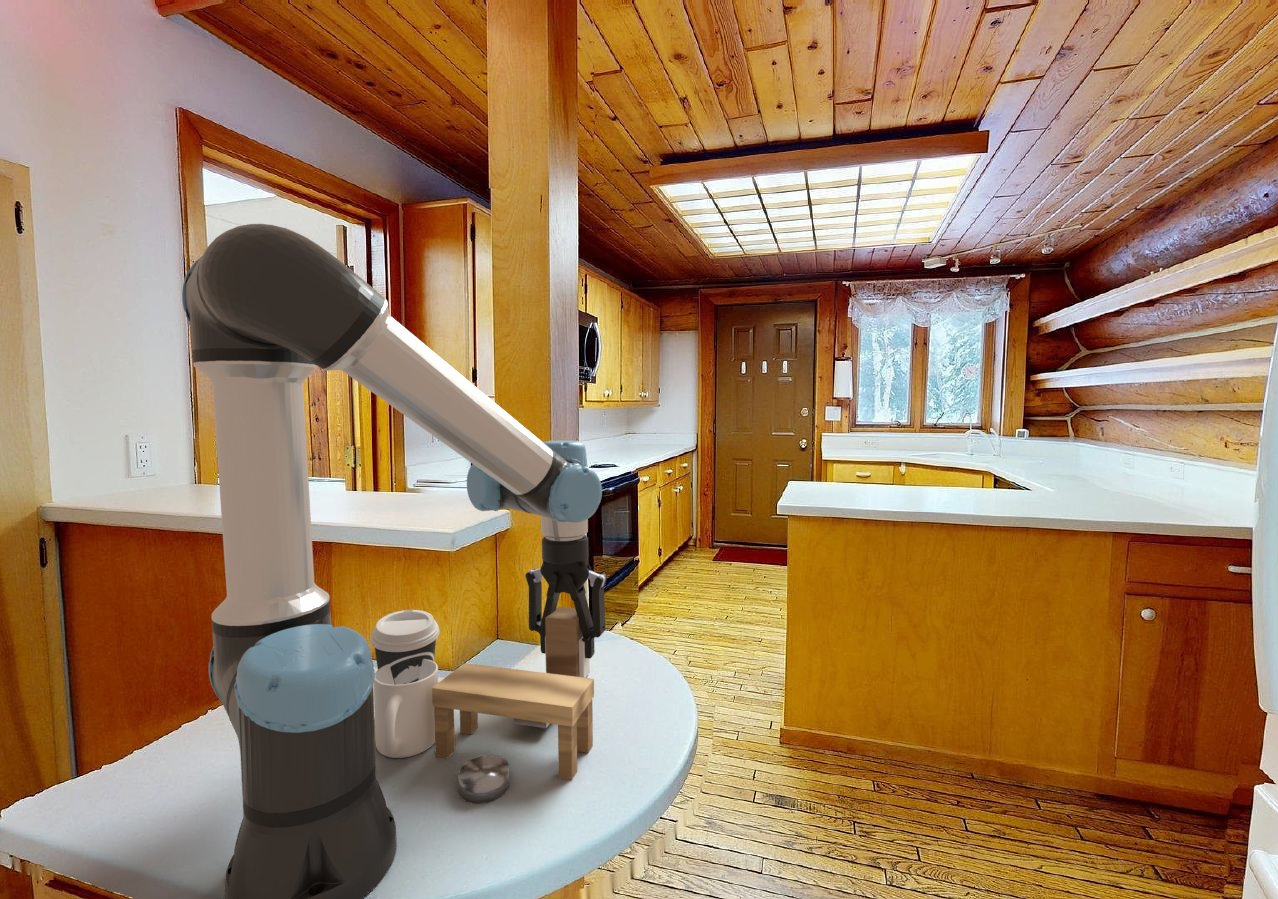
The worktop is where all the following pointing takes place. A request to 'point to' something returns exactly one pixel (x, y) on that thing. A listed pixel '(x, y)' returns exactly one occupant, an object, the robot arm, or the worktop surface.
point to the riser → (516, 706)
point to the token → (483, 779)
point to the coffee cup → (405, 643)
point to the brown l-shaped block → (560, 648)
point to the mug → (404, 712)
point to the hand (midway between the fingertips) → (567, 673)
